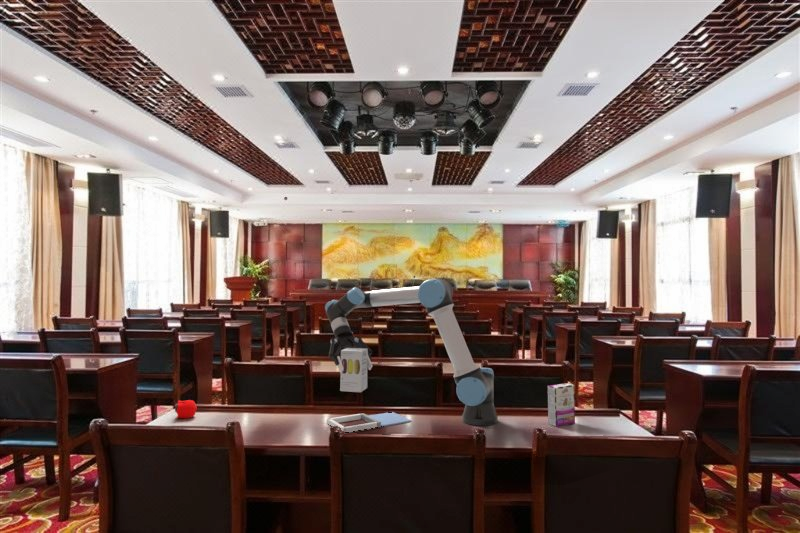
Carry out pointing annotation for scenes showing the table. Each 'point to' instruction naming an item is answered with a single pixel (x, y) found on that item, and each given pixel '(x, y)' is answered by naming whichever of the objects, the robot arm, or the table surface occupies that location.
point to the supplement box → (354, 369)
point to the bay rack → (372, 420)
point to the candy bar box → (561, 405)
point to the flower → (186, 409)
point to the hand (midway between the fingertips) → (356, 369)
